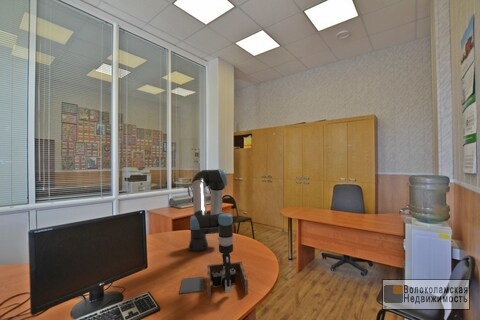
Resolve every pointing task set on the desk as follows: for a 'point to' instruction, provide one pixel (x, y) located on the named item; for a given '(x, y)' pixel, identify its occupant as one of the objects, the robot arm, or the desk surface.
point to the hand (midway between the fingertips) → (226, 284)
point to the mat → (192, 285)
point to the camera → (222, 278)
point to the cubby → (236, 266)
